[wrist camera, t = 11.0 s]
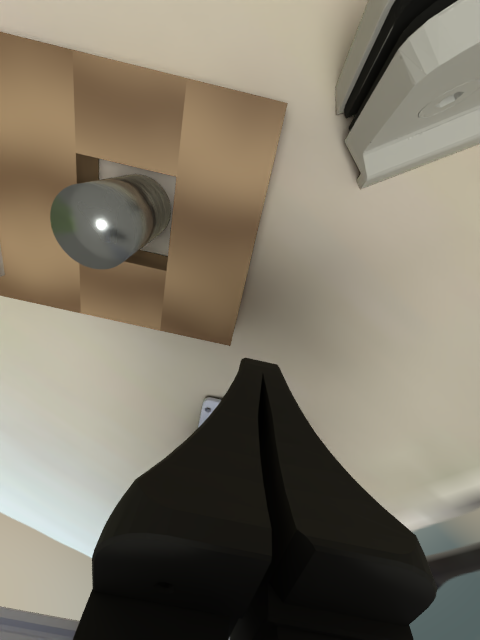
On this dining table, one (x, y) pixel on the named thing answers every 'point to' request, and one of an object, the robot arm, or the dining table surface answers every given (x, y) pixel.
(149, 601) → the robot arm
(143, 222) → the mottled grey cylinder
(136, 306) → the jig
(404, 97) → the grey rounded piece
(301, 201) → the dining table surface
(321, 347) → the dining table surface
